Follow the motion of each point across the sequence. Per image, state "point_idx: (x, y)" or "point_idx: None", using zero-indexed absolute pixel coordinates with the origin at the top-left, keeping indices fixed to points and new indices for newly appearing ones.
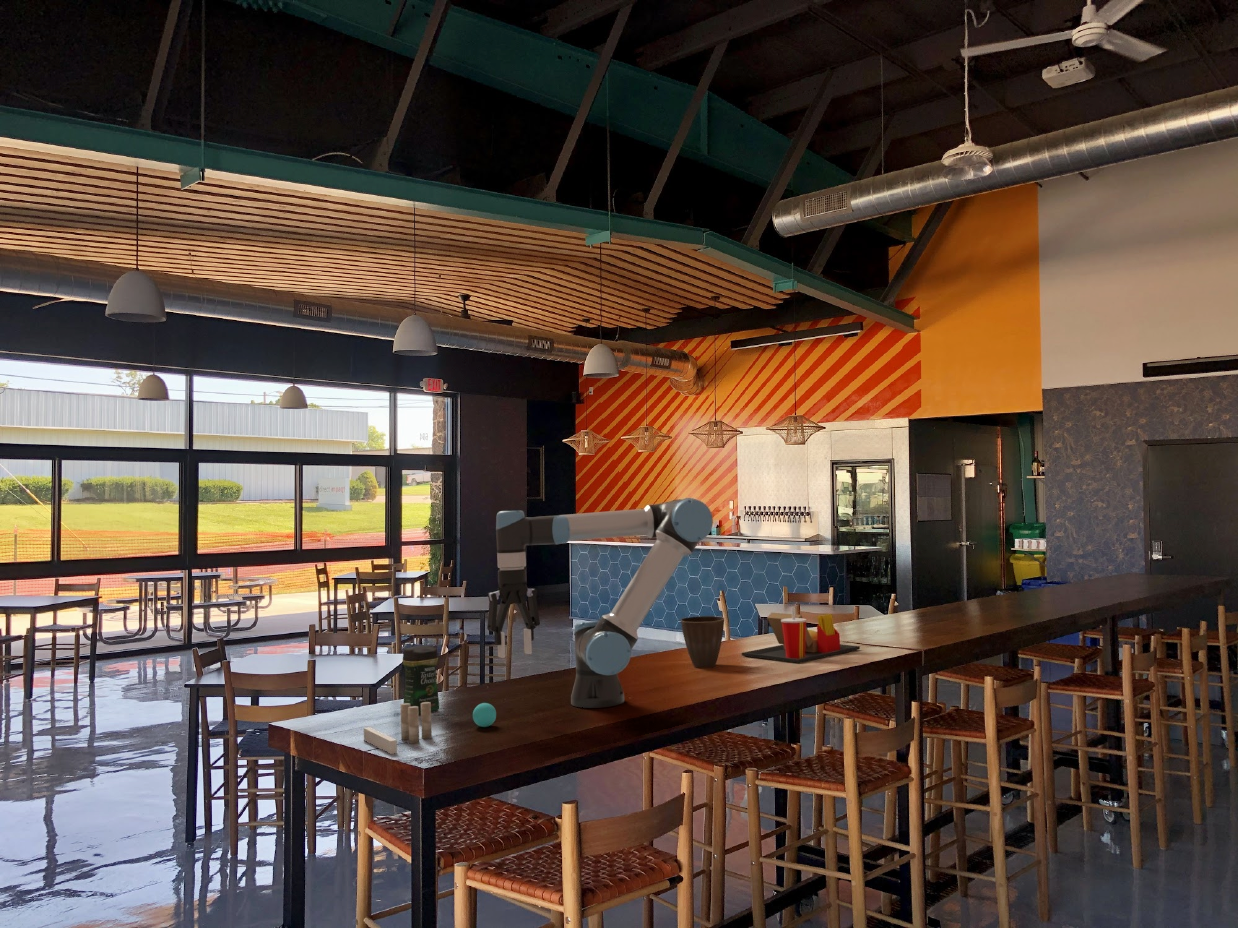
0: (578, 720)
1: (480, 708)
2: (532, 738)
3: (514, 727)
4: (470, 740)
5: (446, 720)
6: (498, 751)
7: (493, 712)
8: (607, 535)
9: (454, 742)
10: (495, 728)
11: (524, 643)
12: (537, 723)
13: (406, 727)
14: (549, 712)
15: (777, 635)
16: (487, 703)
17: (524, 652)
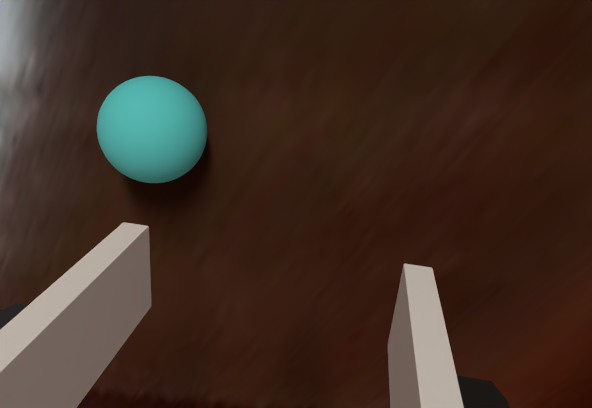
0: (477, 326)
1: (108, 157)
2: (210, 374)
3: (249, 222)
4: (53, 246)
5: None
6: None
7: (171, 179)
8: None
9: (3, 226)
10: (190, 177)
11: (408, 329)
12: (346, 242)
13: None
14: (524, 122)
15: None
16: (146, 151)
17: (403, 269)
